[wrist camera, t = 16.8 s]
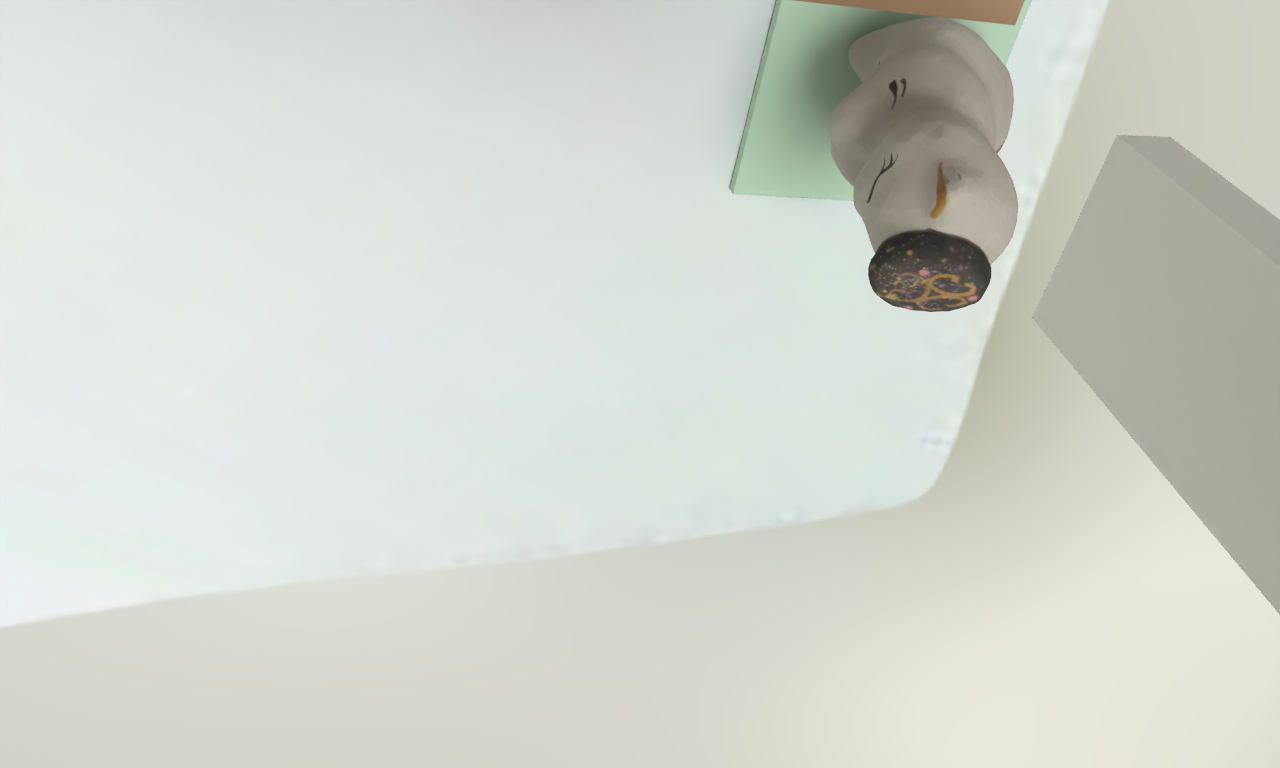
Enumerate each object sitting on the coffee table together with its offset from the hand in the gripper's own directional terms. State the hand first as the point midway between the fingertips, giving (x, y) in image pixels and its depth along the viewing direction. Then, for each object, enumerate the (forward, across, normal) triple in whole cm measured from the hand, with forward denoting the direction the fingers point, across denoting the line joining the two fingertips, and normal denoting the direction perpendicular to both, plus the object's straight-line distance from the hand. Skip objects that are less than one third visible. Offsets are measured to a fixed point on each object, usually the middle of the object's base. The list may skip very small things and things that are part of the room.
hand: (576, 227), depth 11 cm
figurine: (+31, +20, -11) cm, 39 cm away
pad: (+32, +20, -11) cm, 39 cm away
